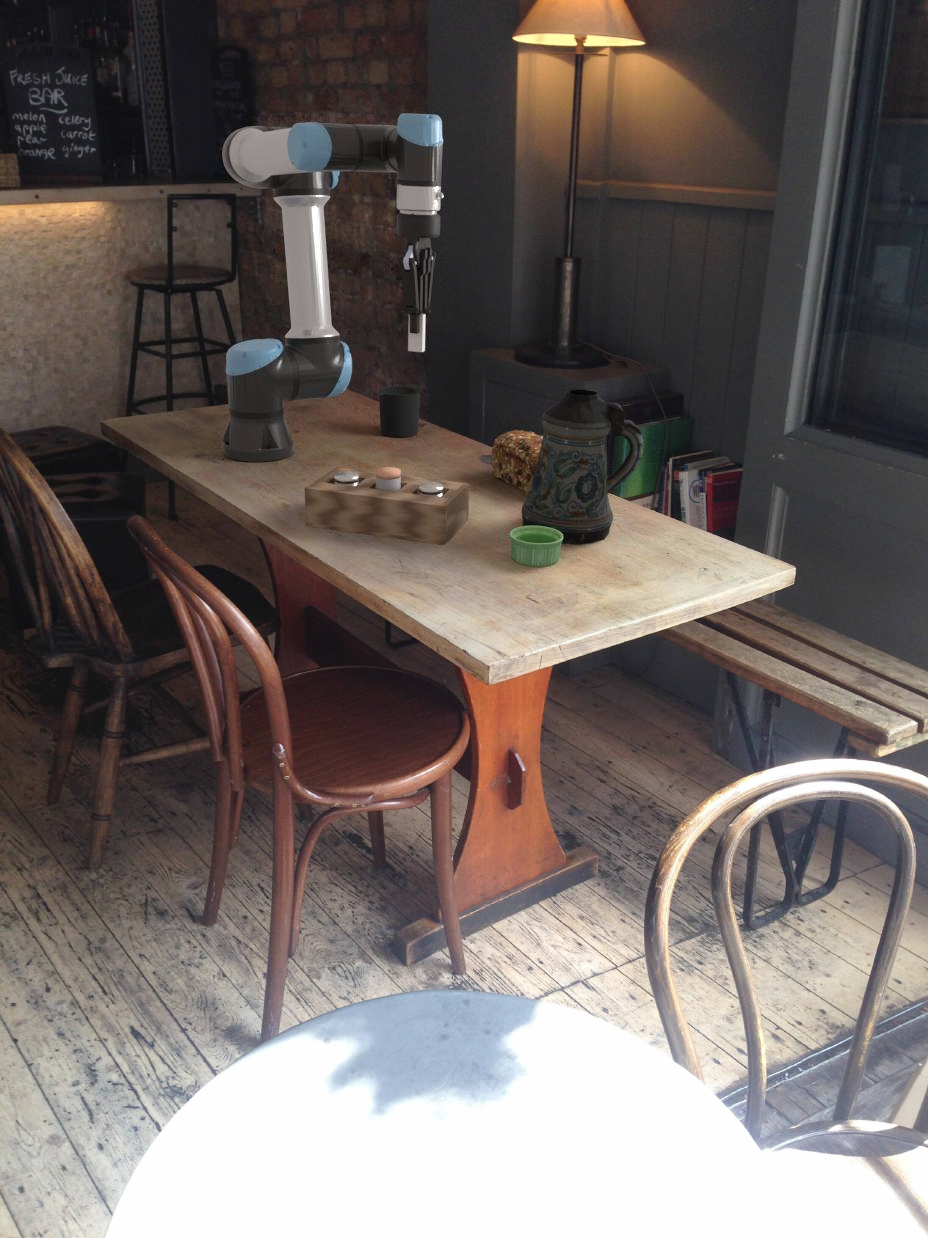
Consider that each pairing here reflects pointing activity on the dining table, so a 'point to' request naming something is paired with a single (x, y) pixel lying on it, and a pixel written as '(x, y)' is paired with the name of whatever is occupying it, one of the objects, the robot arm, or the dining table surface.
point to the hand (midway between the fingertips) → (416, 350)
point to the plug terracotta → (388, 479)
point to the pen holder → (399, 411)
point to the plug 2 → (431, 489)
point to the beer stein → (579, 467)
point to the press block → (387, 508)
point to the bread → (516, 457)
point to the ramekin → (535, 545)
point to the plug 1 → (346, 478)
